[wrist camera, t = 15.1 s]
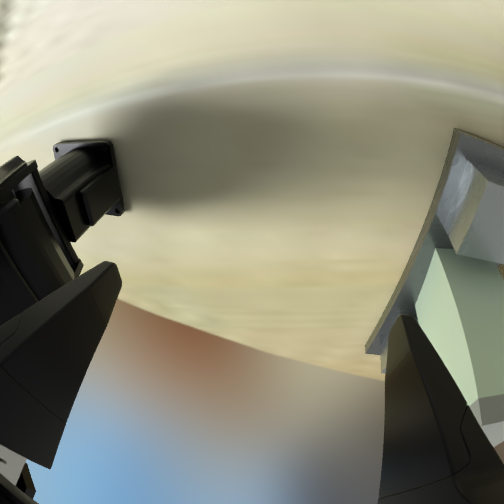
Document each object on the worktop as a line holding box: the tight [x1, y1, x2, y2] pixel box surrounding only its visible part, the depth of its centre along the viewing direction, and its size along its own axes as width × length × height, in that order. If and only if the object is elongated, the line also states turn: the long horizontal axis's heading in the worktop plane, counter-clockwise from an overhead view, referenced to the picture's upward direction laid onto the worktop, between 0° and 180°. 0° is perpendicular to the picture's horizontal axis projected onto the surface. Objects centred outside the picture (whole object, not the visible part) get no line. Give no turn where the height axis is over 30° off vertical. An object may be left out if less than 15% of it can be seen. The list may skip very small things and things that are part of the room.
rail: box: [365, 128, 504, 373], centre depth 19 cm, size 8×22×4 cm, turn 178°
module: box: [415, 248, 504, 447], centre depth 15 cm, size 5×6×13 cm
